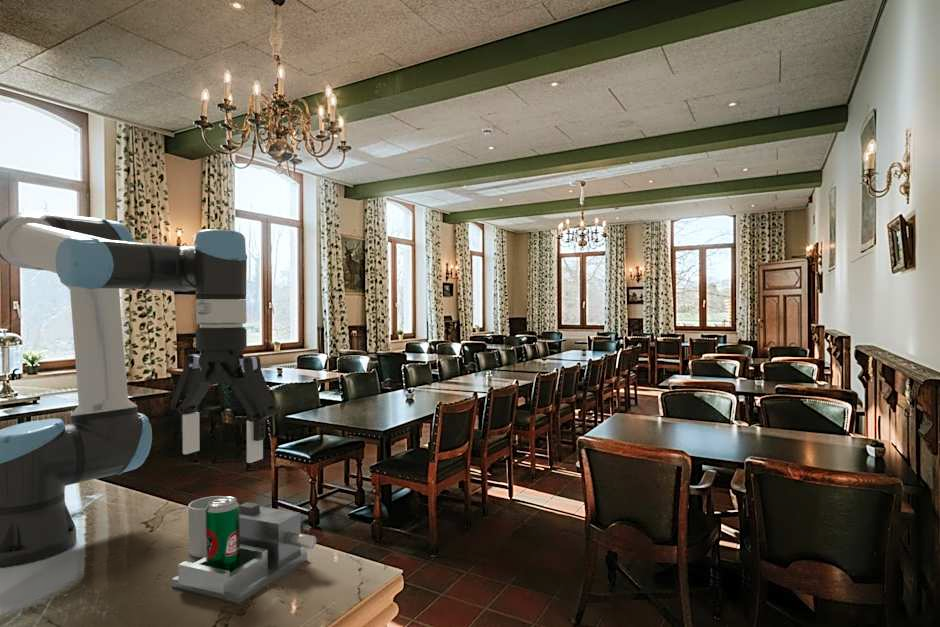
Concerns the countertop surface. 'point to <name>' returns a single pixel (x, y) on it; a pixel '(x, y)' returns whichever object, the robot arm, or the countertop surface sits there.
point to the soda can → (222, 534)
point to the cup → (198, 526)
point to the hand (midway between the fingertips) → (222, 456)
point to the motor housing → (251, 556)
